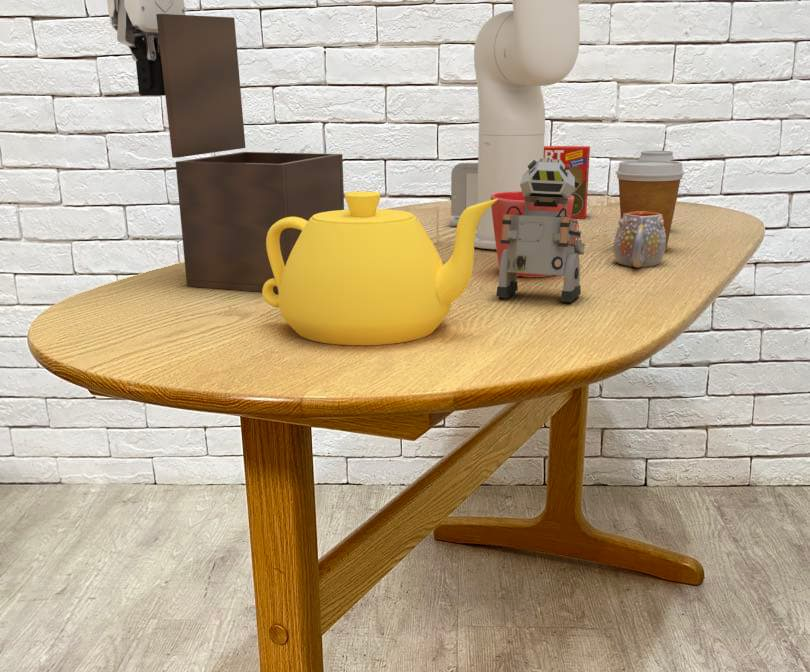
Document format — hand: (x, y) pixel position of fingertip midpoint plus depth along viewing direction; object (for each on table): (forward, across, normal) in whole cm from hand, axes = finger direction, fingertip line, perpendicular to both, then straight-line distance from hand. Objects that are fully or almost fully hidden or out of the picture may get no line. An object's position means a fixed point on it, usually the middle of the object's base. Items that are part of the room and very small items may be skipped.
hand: (153, 95), depth 137 cm
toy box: (+22, +69, -29) cm, 78 cm away
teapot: (+22, -21, -40) cm, 50 cm away
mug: (+22, +25, -57) cm, 66 cm away
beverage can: (+22, +58, -52) cm, 81 cm away
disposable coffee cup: (+22, +39, -55) cm, 71 cm away
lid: (-1, 0, -8) cm, 8 cm away
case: (+22, 0, -15) cm, 27 cm away
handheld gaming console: (+22, +58, -25) cm, 67 cm away
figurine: (+22, +2, -51) cm, 56 cm away
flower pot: (+22, +16, -45) cm, 53 cm away
